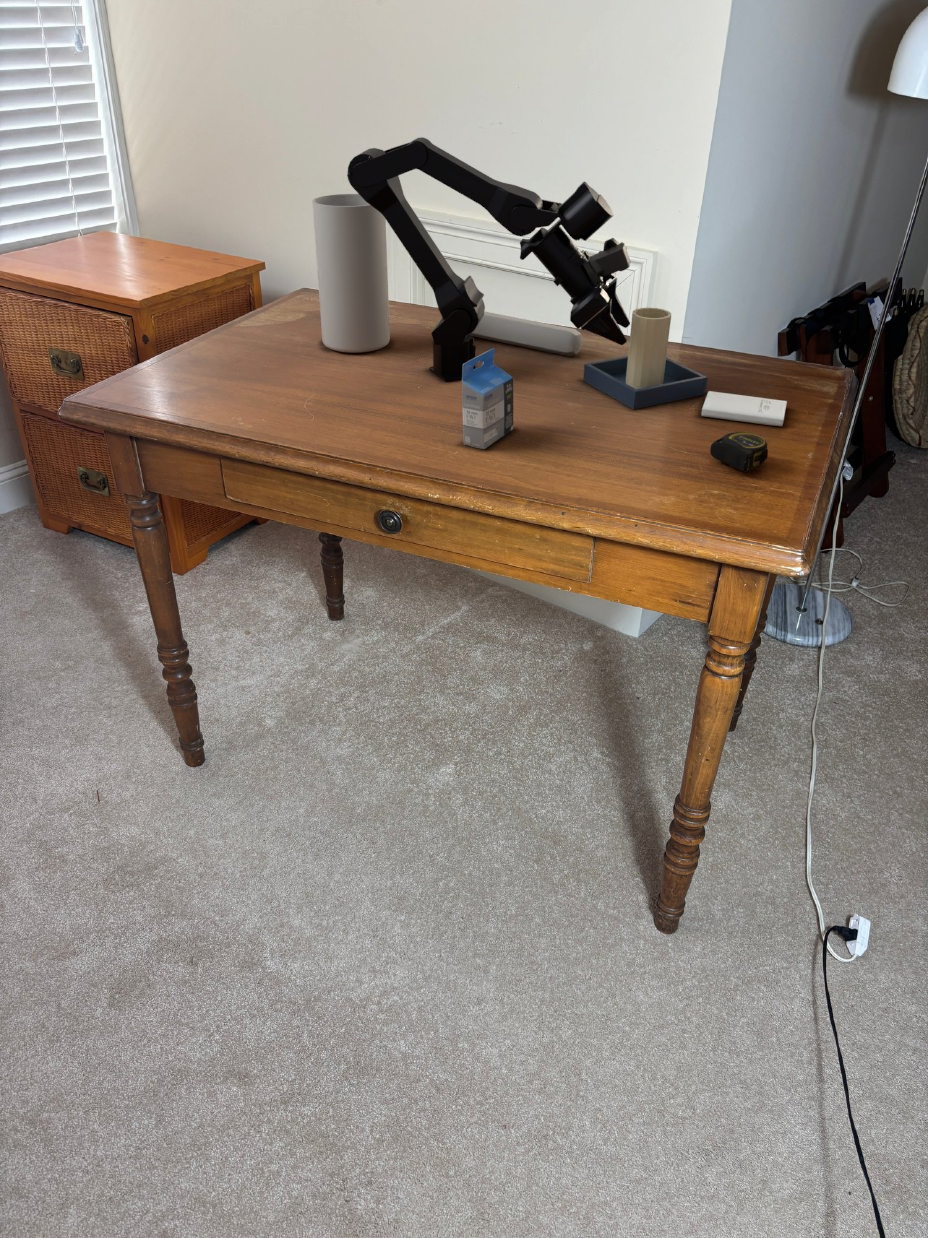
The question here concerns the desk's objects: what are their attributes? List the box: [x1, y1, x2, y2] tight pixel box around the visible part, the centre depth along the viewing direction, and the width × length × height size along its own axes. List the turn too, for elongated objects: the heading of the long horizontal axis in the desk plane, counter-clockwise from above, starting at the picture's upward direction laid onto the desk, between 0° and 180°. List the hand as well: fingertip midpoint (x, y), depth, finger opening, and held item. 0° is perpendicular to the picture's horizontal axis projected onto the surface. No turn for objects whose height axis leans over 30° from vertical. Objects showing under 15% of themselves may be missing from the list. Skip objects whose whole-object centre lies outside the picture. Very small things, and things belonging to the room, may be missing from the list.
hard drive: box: [700, 390, 788, 427], centre depth 156 cm, size 2×8×12 cm
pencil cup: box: [625, 307, 672, 390], centre depth 162 cm, size 6×6×12 cm
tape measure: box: [709, 431, 769, 473], centre depth 139 cm, size 7×7×4 cm
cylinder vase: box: [311, 193, 391, 354], centre depth 177 cm, size 12×12×25 cm
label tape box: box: [461, 347, 515, 450], centre depth 144 cm, size 9×4×12 cm, turn 148°
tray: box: [582, 355, 708, 410], centre depth 165 cm, size 15×15×3 cm
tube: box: [468, 311, 583, 357], centre depth 182 cm, size 5×5×25 cm
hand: (626, 334), depth 161 cm, fingers open, 9 cm apart
